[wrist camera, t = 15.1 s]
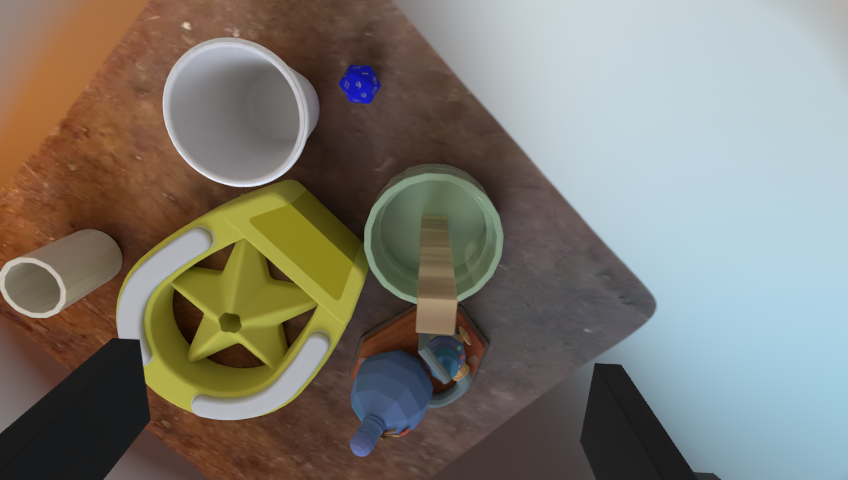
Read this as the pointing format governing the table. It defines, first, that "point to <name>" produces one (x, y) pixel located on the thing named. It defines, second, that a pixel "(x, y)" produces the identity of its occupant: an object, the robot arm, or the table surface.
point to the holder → (60, 273)
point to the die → (360, 84)
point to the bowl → (401, 226)
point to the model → (409, 374)
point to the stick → (436, 279)
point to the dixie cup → (238, 111)
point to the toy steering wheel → (245, 301)
